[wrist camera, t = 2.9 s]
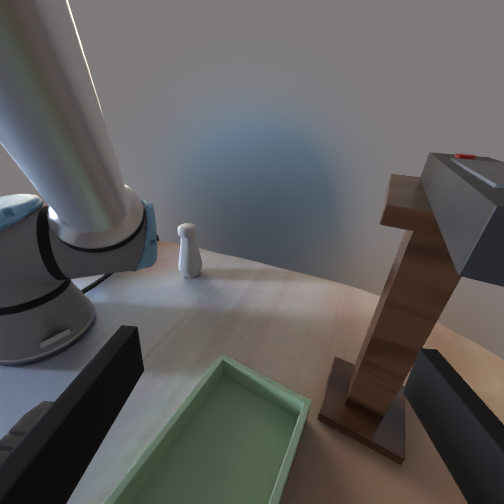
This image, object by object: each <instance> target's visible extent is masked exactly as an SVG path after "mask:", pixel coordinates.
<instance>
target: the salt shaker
mask: <svg viewBox="0 0 504 504" xmlns="http://www.w3.org/2000/svg"><path fill="white" fill-rule="evenodd" d="M196 234H197V228H196V226H195V225H193V224H182V225H180V226H179V227H178V235H179V236H180V237H181V244H180V256H179V265H178V267H179V269H180V271H181V272H182V274H183V275H184V277H189V278H192V277H195V276H198V274H199V272H200V270H201V268H202V260H201V256H200V253H199V249H198V246H197V242H196V238H195V235H196Z"/></svg>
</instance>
